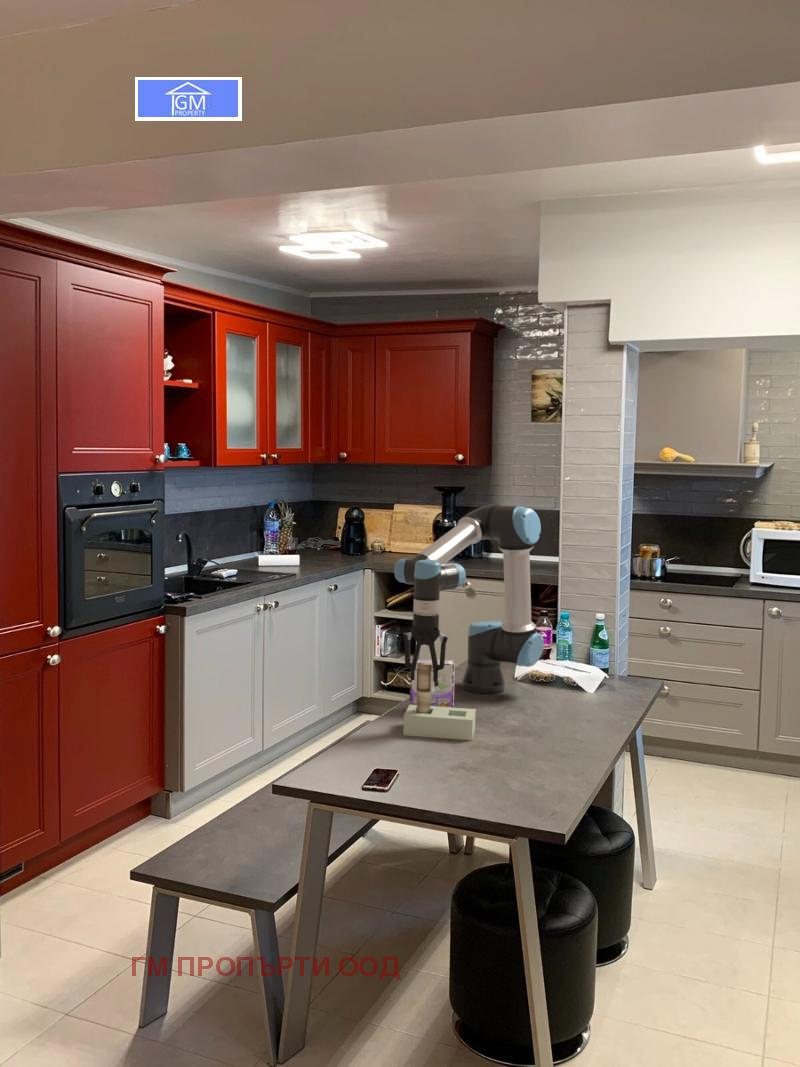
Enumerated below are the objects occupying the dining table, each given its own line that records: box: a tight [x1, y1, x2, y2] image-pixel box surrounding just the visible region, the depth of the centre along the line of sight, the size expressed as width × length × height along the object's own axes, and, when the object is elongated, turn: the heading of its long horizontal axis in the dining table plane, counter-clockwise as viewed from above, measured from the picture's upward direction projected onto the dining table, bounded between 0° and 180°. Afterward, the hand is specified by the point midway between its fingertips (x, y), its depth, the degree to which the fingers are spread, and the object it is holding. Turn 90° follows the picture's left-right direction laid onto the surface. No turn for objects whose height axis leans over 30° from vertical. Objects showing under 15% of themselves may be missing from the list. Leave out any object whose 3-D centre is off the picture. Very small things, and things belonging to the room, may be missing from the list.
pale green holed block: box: [402, 704, 477, 741], centre depth 281 cm, size 11×20×6 cm, turn 81°
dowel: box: [417, 663, 431, 713], centre depth 280 cm, size 4×4×14 cm
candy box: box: [409, 657, 455, 708], centre depth 300 cm, size 14×6×16 cm, turn 84°
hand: (423, 691), depth 280 cm, fingers closed on dowel, 4 cm apart
